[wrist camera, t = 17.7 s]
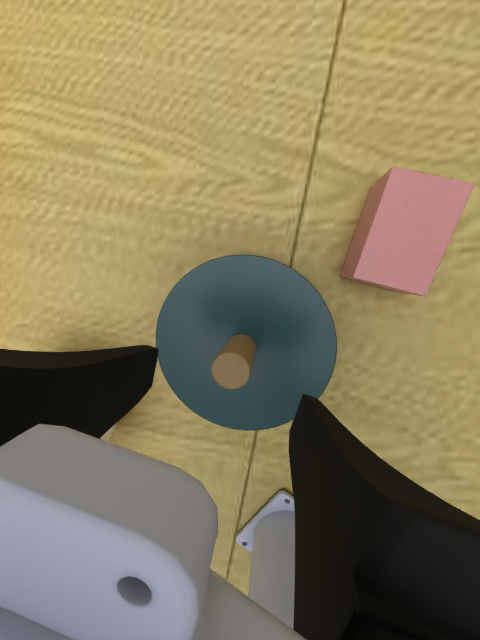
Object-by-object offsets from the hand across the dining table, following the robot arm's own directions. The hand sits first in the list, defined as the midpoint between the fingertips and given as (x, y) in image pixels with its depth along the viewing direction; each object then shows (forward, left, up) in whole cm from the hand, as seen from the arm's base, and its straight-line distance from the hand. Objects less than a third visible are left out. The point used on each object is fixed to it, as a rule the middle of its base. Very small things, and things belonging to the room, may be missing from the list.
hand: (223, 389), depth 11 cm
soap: (-4, -12, -9) cm, 16 cm away
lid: (0, 0, -6) cm, 6 cm away
